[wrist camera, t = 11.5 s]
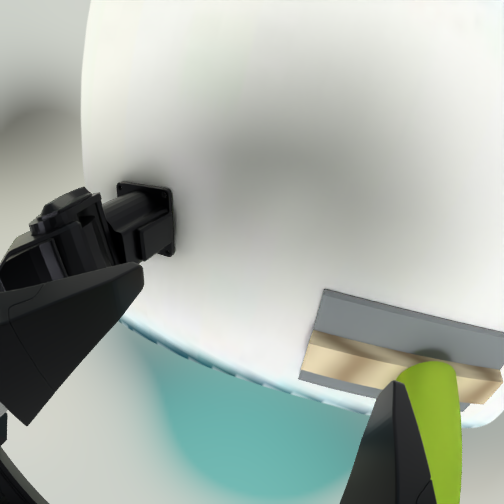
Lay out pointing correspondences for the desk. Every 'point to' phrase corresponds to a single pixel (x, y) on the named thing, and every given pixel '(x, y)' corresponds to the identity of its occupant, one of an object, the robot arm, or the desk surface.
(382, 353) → the ridge
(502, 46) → the desk surface
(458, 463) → the soap dispenser
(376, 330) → the base board
